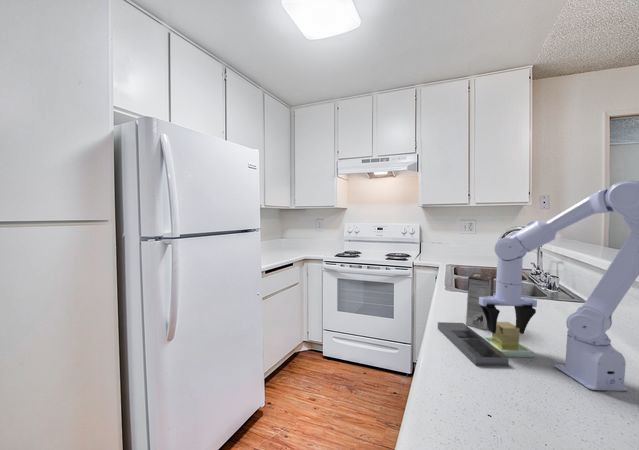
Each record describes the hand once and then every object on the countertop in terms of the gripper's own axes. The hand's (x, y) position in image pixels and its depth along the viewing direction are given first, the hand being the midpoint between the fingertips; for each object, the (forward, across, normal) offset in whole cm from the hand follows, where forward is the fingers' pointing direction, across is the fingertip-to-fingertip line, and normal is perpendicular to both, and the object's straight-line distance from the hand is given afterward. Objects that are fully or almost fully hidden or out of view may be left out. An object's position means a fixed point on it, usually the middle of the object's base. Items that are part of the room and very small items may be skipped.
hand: (505, 332), depth 79 cm
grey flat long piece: (+5, +9, -2) cm, 10 cm away
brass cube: (+4, 0, 0) cm, 4 cm away
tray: (+5, 0, 0) cm, 5 cm away
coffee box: (+5, -3, -18) cm, 19 cm away
